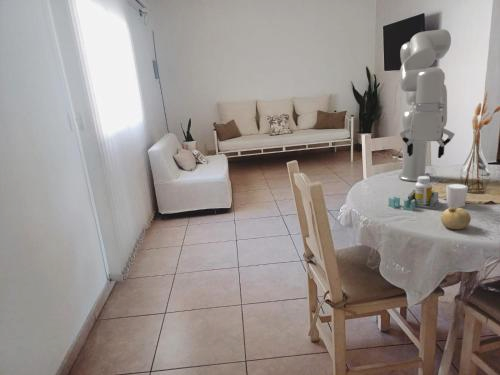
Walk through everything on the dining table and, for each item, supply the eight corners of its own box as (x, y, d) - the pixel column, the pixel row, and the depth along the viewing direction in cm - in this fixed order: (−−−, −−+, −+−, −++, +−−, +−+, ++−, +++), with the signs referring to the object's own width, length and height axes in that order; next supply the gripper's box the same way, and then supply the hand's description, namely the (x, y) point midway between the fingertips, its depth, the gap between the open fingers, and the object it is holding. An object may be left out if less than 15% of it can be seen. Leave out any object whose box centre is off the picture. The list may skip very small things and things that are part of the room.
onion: (445, 220, 116) (446, 200, 114) (472, 225, 111) (474, 204, 109) (436, 229, 111) (438, 207, 109) (465, 234, 106) (467, 212, 104)
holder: (412, 198, 138) (413, 189, 136) (438, 201, 132) (439, 192, 131) (406, 206, 131) (406, 196, 130) (433, 209, 125) (434, 199, 124)
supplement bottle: (429, 200, 132) (430, 175, 130) (432, 205, 127) (433, 179, 125) (413, 200, 134) (414, 175, 131) (416, 205, 129) (417, 179, 126)
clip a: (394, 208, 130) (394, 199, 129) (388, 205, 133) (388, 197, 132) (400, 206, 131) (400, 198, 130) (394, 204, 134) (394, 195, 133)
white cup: (464, 201, 130) (465, 183, 128) (468, 208, 124) (470, 189, 122) (443, 201, 133) (444, 183, 131) (446, 207, 127) (447, 188, 125)
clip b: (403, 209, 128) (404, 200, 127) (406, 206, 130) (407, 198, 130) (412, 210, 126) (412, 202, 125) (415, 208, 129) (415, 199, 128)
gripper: (458, 105, 119) (454, 155, 124) (404, 106, 129) (402, 152, 134) (454, 108, 113) (450, 160, 119) (398, 109, 124) (396, 157, 129)
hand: (424, 156), depth 127 cm, fingers open, 9 cm apart
